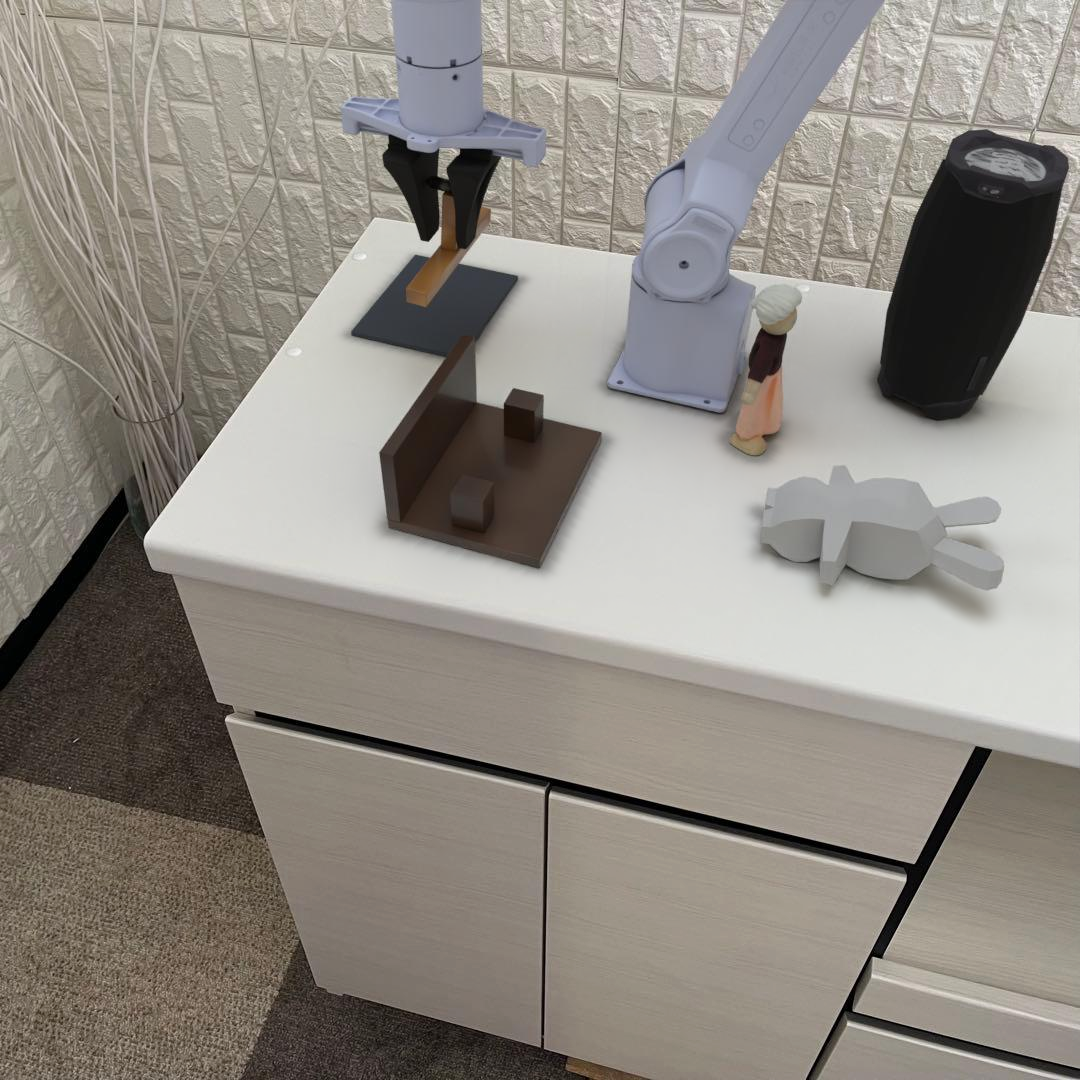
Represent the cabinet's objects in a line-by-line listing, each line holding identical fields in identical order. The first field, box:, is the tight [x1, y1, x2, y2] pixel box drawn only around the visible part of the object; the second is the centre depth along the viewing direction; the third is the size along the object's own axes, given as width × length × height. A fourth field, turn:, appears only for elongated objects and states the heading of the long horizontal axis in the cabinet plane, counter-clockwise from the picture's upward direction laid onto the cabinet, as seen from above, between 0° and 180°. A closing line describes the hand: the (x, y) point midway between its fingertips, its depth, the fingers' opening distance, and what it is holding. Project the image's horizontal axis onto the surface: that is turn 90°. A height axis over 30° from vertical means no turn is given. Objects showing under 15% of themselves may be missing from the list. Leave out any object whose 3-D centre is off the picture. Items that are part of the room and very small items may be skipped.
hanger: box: [406, 175, 492, 307], centre depth 78 cm, size 3×13×6 cm, turn 161°
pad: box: [350, 254, 519, 358], centre depth 91 cm, size 10×13×1 cm
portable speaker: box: [876, 128, 1070, 421], centre depth 77 cm, size 9×9×20 cm
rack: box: [378, 334, 603, 569], centre depth 73 cm, size 11×14×7 cm
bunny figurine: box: [759, 464, 1005, 591], centre depth 70 cm, size 10×5×15 cm
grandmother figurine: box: [729, 283, 803, 456], centre depth 76 cm, size 8×4×13 cm, turn 168°
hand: (447, 238), depth 79 cm, fingers closed on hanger, 2 cm apart
